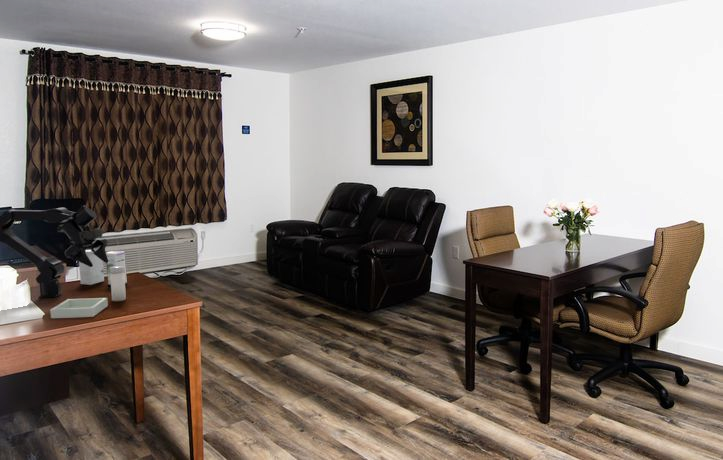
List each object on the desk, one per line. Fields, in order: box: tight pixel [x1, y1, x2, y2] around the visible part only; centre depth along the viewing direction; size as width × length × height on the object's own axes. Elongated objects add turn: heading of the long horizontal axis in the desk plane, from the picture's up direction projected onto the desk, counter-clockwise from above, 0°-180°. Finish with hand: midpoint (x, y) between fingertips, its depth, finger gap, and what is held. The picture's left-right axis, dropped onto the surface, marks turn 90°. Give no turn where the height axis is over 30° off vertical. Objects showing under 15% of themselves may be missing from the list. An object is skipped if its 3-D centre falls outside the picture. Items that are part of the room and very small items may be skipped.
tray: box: [49, 297, 109, 319], centre depth 189 cm, size 14×14×3 cm
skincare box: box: [78, 249, 105, 286], centre depth 234 cm, size 8×6×15 cm
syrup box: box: [105, 250, 128, 286], centre depth 231 cm, size 6×6×14 cm
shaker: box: [109, 266, 127, 302], centre depth 205 cm, size 5×5×13 cm
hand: (99, 264), depth 209 cm, fingers open, 9 cm apart
